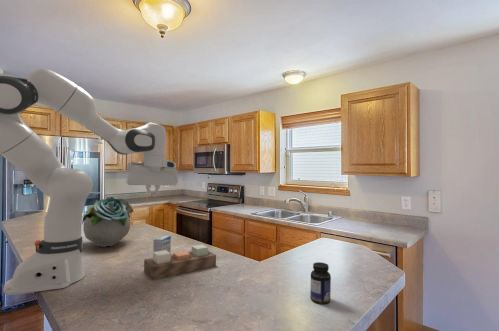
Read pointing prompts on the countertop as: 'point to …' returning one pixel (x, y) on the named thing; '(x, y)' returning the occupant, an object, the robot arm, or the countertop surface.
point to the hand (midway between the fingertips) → (152, 196)
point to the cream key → (161, 257)
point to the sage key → (199, 250)
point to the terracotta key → (181, 255)
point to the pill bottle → (320, 283)
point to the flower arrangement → (107, 221)
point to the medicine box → (162, 243)
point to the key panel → (178, 265)
